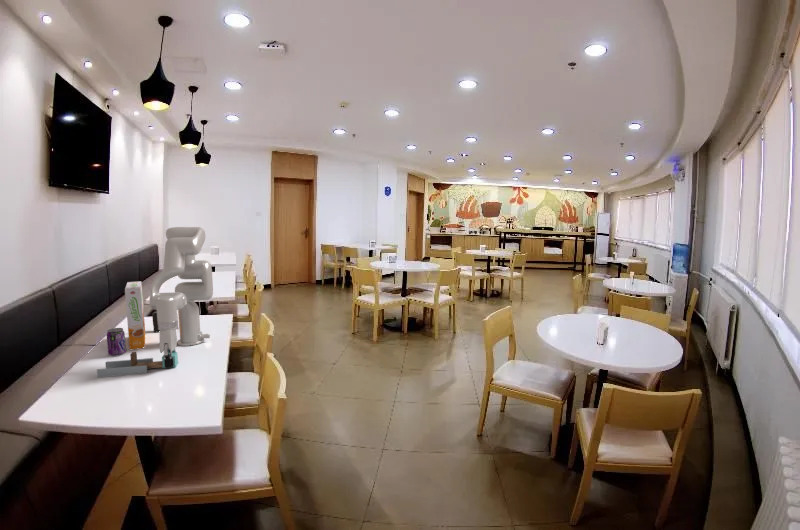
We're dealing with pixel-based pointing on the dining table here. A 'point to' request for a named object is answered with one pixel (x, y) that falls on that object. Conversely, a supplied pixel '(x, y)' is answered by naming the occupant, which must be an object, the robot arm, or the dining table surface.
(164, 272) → the robot arm
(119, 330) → the beverage can
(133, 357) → the plunger rod
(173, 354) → the block
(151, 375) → the dining table surface
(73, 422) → the dining table surface
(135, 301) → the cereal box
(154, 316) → the battery
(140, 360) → the grey shallow tray
